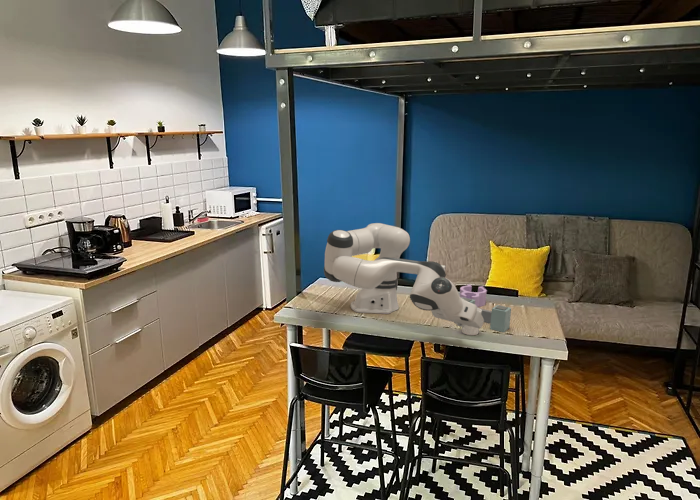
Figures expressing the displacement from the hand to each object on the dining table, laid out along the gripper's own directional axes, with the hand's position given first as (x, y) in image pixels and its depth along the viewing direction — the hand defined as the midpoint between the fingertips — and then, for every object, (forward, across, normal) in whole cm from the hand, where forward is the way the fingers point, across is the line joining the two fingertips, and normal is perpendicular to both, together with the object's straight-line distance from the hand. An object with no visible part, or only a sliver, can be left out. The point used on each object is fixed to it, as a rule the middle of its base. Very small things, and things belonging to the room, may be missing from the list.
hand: (461, 325), depth 198 cm
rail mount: (+20, 0, +12) cm, 24 cm away
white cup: (+11, 0, +2) cm, 11 cm away
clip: (+36, -15, +27) cm, 48 cm away
